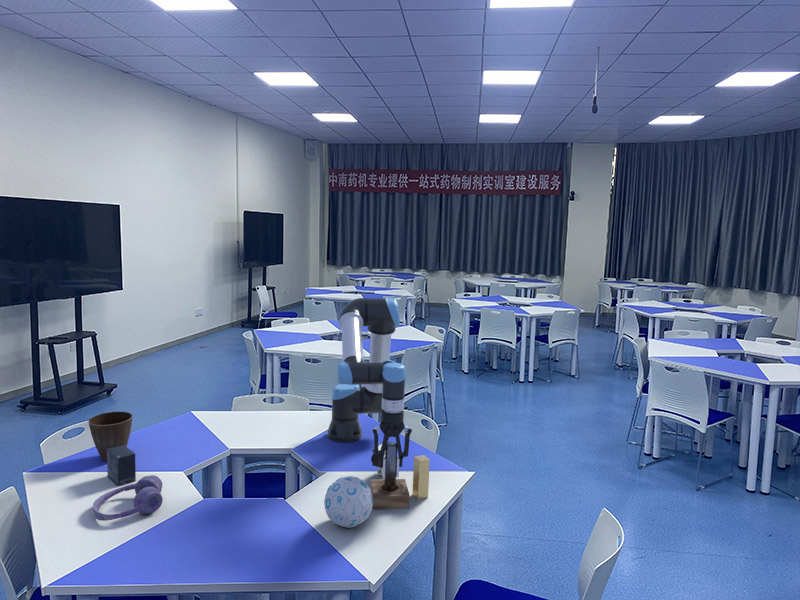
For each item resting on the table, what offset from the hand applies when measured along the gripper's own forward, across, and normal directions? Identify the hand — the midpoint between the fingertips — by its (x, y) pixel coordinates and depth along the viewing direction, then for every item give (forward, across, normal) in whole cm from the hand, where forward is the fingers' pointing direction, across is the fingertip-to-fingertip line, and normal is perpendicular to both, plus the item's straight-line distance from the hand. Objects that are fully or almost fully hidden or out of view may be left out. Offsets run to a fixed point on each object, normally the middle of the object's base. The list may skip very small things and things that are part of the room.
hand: (390, 475), depth 186 cm
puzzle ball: (+9, -14, -14) cm, 22 cm away
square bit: (+9, +11, +2) cm, 14 cm away
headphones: (+9, -84, -1) cm, 85 cm away
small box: (+9, -94, +20) cm, 97 cm away
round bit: (+3, 0, 0) cm, 3 cm away
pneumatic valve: (+9, 0, +19) cm, 21 cm away
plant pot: (+9, -104, +38) cm, 111 cm away
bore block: (+9, 0, 0) cm, 9 cm away
